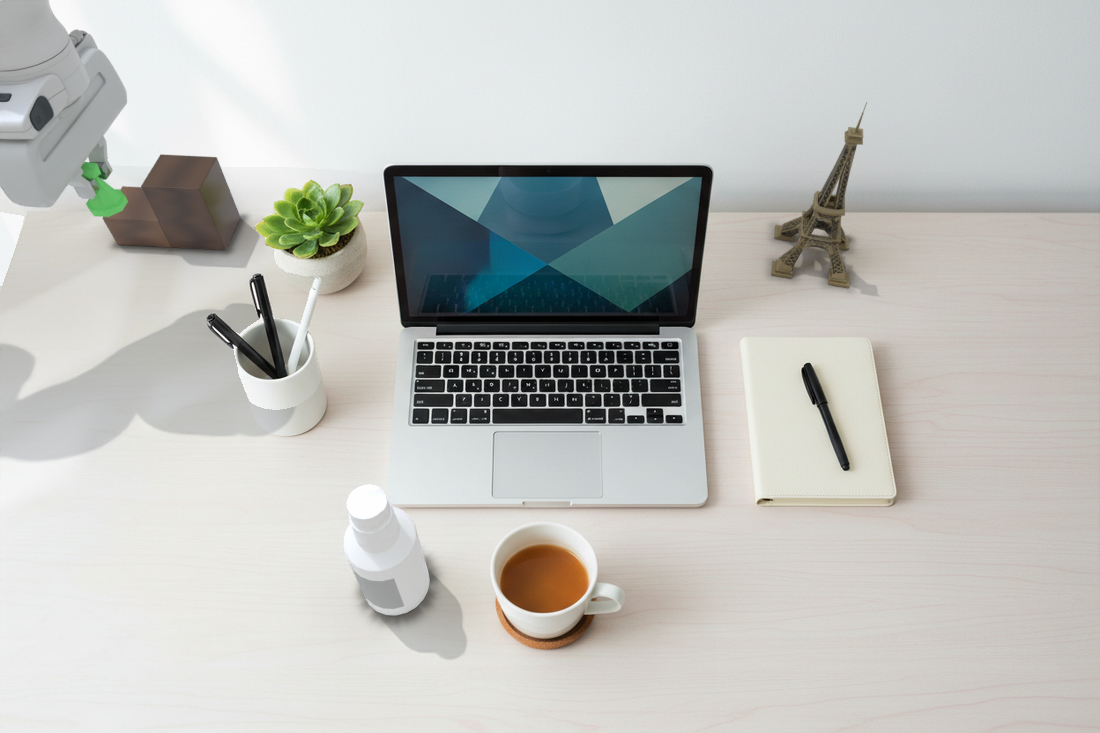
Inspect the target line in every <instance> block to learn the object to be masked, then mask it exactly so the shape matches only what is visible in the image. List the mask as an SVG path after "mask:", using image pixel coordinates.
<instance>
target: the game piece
mask: <svg viewBox="0 0 1100 733" xmlns="http://www.w3.org/2000/svg"><path fill="white" fill-rule="evenodd" d="M81 169H82V170H83V174H82V175H81V176H82V177H83V178H85V179H92V178H93V179H95V181H96V183H97V186H98V187H99V188H100V189H99V191H98V193H97V194H96V196H95V197H94V199H87V201H86V203H85V205H86V207H87V209H88V210H89V211H90V213H91V214H92V215H93V217H102V218H103V217H109V216H112V215H114V214H116V213H118V212H121V211H123V209H124V207H125V206H126V204H127V202H128V200H127V198H126V196H125V195H124V194H123V193H122V192H121V190H120V189H121V188H120V189H118V188H114V187H112V186H111V185H110V184H108V183H107V182H106V180H103V179H101V178H100V177H98V176H99V175H100V174H101V172H100V169H99V167H98V165H97V163H93V162H89V161H85V162H84V163H83V165H82V166H81Z"/></svg>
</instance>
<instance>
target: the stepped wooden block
mask: <svg viewBox="0 0 1100 733" xmlns="http://www.w3.org/2000/svg"><path fill="white" fill-rule="evenodd" d="M120 190H121V192H122V193H123V194H124V195H125V196H126V198H127V200H128V202H127V204H126V206H125V207H124V209H123V211H121V212H118V213H116V214H114V215H112V216H109V217H102V221H103V222H104V224H105V225H106V227H107V229H108V231H109V233H110V235H111V236H112V238H113V240H114V241H115V243H116V244H117V245H121V246H137V247H138V246H139V247H141V246H142V247H156V248H157V247H161V248H179V249H198V250H218V251H226V250H227V249H228V246H229V245H230V243H231V240H232V238H233V236H234V234H235V231H236V230H237V227H238V225H239V223H240V221H241V219H242V217H241V214H240V211H239V209H238V207H237V205H236V202H235V200H234V197H233V194H232V192H231V189H230V187H229V184H228V182H227V179H226V176H225V174H224V172H223V169H222V166H221V164H220V161H219V159H218V157H217V156H202V155H180V154H159V155H158V158H157V159H156V161H155V163H154V164H153V166H152V167H151V169H150V171H149V173H148V174H147V176H146V177H145V179H144V181H143V182H142V184H141V185H140V186H127V185H126V186H125V185H123V186H121V188H120Z"/></svg>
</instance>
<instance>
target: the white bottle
mask: <svg viewBox="0 0 1100 733" xmlns="http://www.w3.org/2000/svg"><path fill="white" fill-rule="evenodd" d="M346 510H347V513H348V521H349V524H348V526H347V528H346V529H345V533H344V537H343V541H342V545H343V552H344V555H345V557H346V559H347V562H348V563H349V566H350V568H351V570H352V573H353V574H354V576H355V579H356V581H357V583H358V584H359V587H360V590H361V591H362V594H363V596H364V599H365V600H366V602H367V604H368V606H370V607H371V608H372V609H373V610H374V611H376V612H378V613H380V614H382V615H385V616H399V615H404V614H407V613H409V612H410V611H413V610H414V609H416V608H417V607H418V606H419V605H420V604H421V603H422V602H423V601H424V599H425V598H426V596H427V593H428V591H429V589H430V582H431V581H430V580H431V579H430V573H429V569H428V566H427V562H426V558H425V555H424V551H423V547H422V544H421V540H420V537H419V533H418V530H417V527H416V524H415V522H414V520H413V519H412V518H411V516H410V515H409V514H408V513H406V512H405V511H404V510H403V509H401V508H399V507H396V506H393V505H392V503H391V501H390V499H388V497H387V495H386V493H385V491H384V489H382V488H381V487H380V486H378V485H375V484H363V485H360V486H358V487H356V488H354V489H353V490H352V491H351V492H350V493H349V496H348V497H347V500H346Z"/></svg>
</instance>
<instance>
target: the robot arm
mask: <svg viewBox="0 0 1100 733" xmlns="http://www.w3.org/2000/svg"><path fill="white" fill-rule="evenodd" d="M127 104H128V94H127V89H126V87H125V85H124V83H123V81H122V79H121V77H120V75H119V73H118V72H117V70H116V69H115V67H114V65H113V64H112V62H111V61H110V59H109V57H107V55H106V54H105V53H104V52H103V50H101V49H99V47H98V45H97V43H96V41H95V39H94V38H93V35H92V34H91V33H89V32H87V31H85V30H83V29H82V30H79V29H73V30H71V31H70V33H68V30H67V29H66V27H65V25H63V24H62V23H61V22H60V20H58V18H57V17H56V16H55V13H54V12H53V10H52V8H51V5H50V0H0V189H1V190H2V191H3V193H4V194H5V196H6V197H7V198H8V200H10V201H11V202H12V203H13V204H16V205H18V206H22V207H27V208H38V209H39V208H42V209H43V208H44V209H47V208H52V207H53V206H54V205H55V203H57V201H58V200H59V198H60V197H61V195H62V194H63V192H64V191H65V190H66V188H67V187H68V186H71V187H73V189H74V190H75V192H76V194H77V196H78V197H79V198H81V199H85V200H89V199H94V197H95V196H96V194H97V193H98V191H99V189H100V188H99V187H98V186H97V183H96V181H95V179H93V178H92V179H85V178H83V177H82V176H81V175H82V174H83V170H82V169H81V166H82V165H83V163H84V162H86V160H87V159H88V162H93V163H97V165H98V167H99V169H100V172H101V174H100V175H99V176H98V177H100V178H101V179H102V180H103V181H106V180H107V179H109V177H110V175H111V174H112V172H113V167H112V166H111V164H110V162H109V160H108V159H109V158H108V146H107V144H108V143H107V139H106V137H105V134H106V133H107V132H108V130H109V129H110V128H111V126H112V125H113V123H114V122H115V121H116V119H117V118H118V116H119V115H120V114H121V112H122V111H123V110H124V108H125V107H126V105H127Z"/></svg>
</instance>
